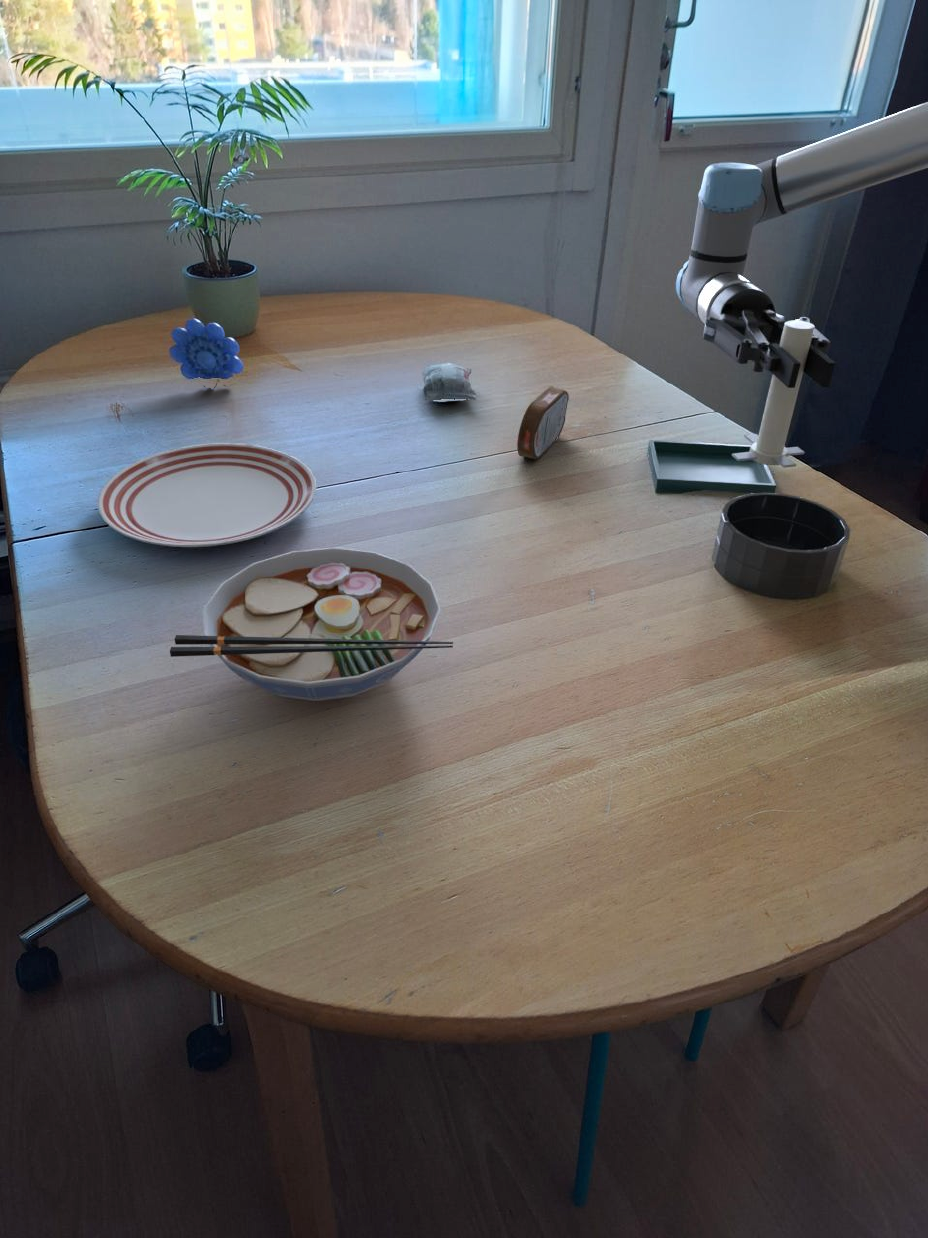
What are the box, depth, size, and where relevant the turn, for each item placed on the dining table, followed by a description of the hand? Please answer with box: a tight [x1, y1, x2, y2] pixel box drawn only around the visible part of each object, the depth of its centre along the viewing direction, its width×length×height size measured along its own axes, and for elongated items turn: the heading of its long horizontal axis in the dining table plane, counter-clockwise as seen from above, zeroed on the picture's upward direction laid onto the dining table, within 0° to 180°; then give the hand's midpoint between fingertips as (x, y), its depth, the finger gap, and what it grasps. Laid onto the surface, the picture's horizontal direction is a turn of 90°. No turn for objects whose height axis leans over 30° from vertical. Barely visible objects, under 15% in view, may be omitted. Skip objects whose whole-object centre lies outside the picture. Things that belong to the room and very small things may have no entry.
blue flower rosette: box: [168, 317, 244, 380], centre depth 145 cm, size 12×7×12 cm, turn 102°
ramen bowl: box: [169, 546, 454, 702], centre depth 86 cm, size 25×23×8 cm
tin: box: [516, 385, 570, 460], centre depth 130 cm, size 15×3×8 cm, turn 155°
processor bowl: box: [711, 492, 851, 601], centre depth 103 cm, size 14×14×7 cm
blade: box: [732, 319, 816, 468], centre depth 101 cm, size 9×9×16 cm
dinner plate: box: [97, 442, 318, 548], centre depth 114 cm, size 27×27×3 cm
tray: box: [647, 439, 778, 495], centre depth 126 cm, size 16×13×2 cm
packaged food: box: [422, 362, 478, 403], centre depth 148 cm, size 9×12×5 cm
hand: (811, 375), depth 94 cm, fingers closed on blade, 3 cm apart
